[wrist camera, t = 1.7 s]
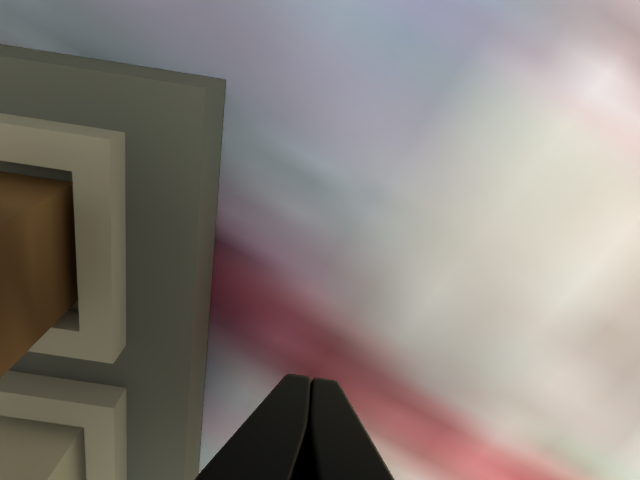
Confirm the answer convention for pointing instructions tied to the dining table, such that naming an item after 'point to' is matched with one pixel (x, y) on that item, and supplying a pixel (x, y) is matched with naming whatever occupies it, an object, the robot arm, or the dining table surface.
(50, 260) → the walnut knob
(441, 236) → the dining table surface
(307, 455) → the robot arm
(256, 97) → the dining table surface
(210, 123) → the panel
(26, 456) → the offwhite knob
